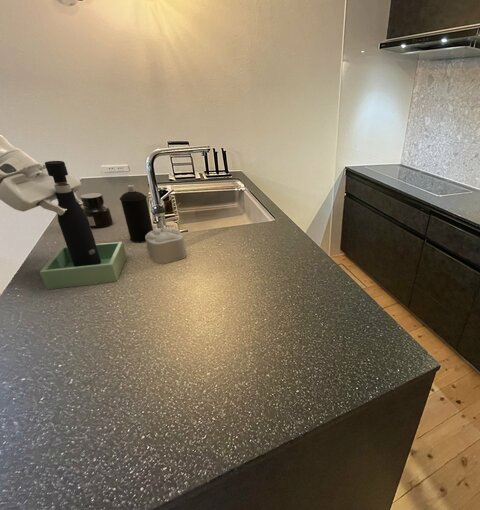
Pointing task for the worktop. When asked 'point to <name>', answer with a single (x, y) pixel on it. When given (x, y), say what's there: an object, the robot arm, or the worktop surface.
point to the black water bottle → (73, 219)
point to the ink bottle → (96, 210)
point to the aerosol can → (136, 214)
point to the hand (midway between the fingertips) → (72, 209)
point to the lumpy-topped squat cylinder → (165, 245)
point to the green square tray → (84, 267)
